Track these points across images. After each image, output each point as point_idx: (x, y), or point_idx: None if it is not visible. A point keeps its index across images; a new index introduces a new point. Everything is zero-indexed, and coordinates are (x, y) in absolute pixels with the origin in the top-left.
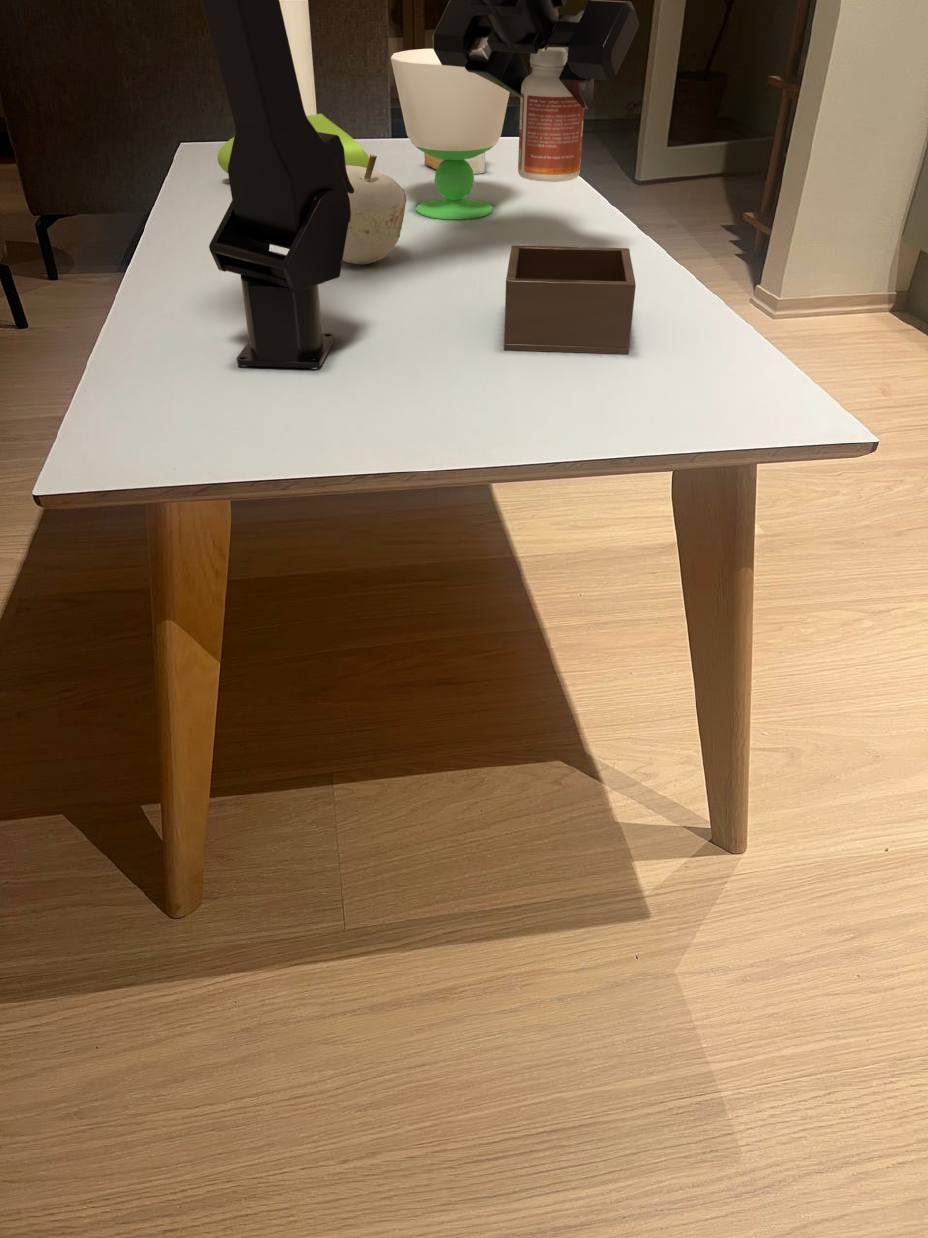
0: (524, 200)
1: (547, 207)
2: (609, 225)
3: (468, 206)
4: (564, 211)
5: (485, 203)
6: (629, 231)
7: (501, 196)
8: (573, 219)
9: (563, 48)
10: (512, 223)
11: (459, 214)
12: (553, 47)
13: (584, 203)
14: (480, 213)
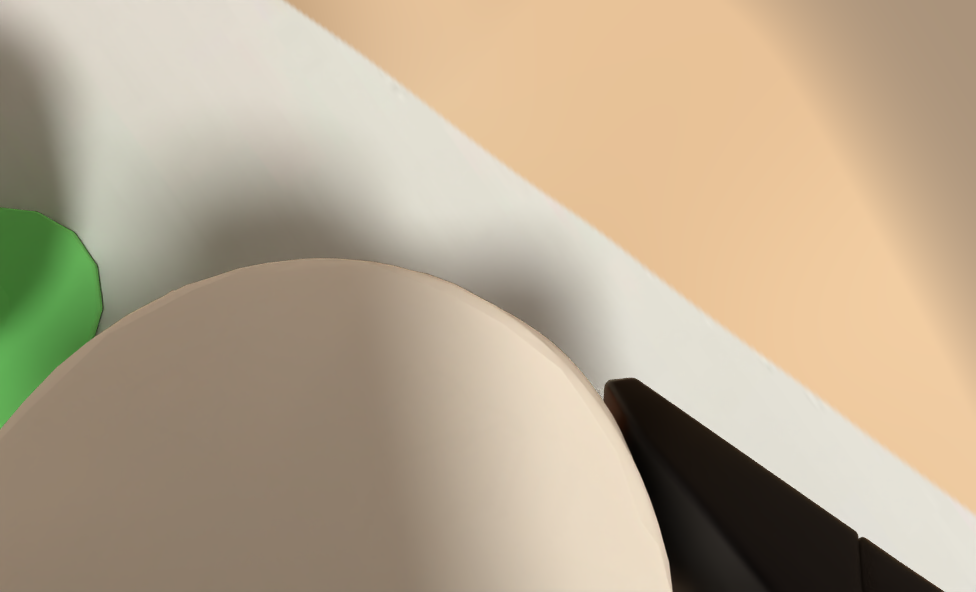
0: (107, 106)
1: (204, 126)
2: (443, 168)
3: (19, 300)
4: (266, 130)
5: (37, 222)
6: (517, 183)
7: (25, 112)
8: (332, 180)
9: (311, 414)
10: None
11: (36, 372)
12: (109, 375)
13: (265, 35)
14: (86, 320)
